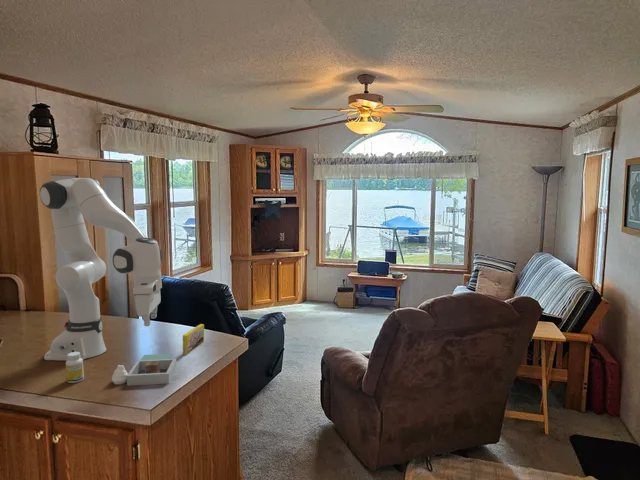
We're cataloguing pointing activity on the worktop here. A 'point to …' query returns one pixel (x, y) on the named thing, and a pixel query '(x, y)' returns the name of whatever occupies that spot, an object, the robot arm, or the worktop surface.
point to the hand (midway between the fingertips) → (150, 321)
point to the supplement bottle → (74, 367)
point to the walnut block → (152, 367)
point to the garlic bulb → (119, 375)
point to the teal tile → (156, 357)
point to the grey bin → (151, 378)
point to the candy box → (193, 339)
